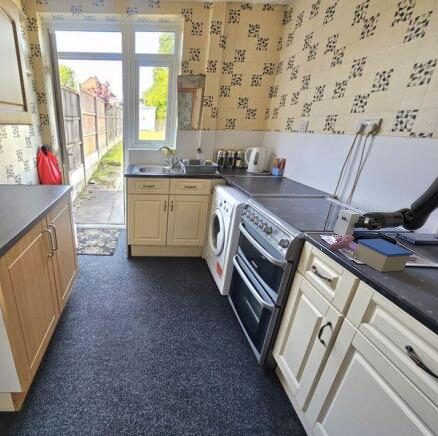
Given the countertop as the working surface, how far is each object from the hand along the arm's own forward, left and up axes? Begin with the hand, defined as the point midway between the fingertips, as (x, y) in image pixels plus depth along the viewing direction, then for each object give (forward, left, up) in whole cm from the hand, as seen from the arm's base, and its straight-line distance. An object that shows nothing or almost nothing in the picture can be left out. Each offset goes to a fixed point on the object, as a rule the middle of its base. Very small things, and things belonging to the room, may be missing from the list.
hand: (345, 221), depth 107 cm
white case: (0, -1, -6) cm, 6 cm away
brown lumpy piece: (-11, +11, -7) cm, 17 cm away
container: (-23, +8, -6) cm, 25 cm away
